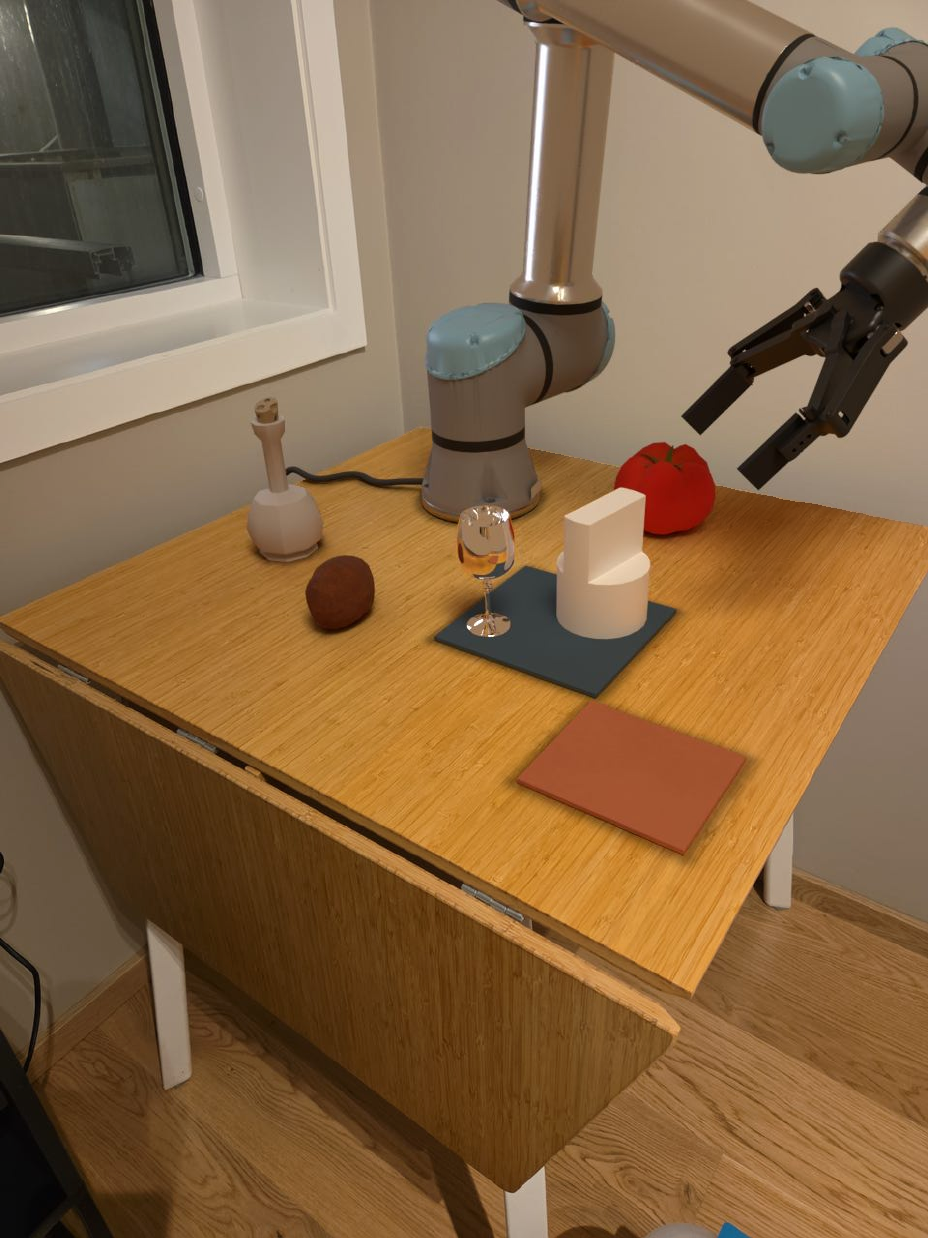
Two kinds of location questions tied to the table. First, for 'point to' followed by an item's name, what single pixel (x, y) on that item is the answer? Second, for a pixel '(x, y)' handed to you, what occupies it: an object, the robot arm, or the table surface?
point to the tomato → (669, 486)
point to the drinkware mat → (550, 636)
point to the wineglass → (486, 559)
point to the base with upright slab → (604, 568)
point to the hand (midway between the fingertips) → (716, 451)
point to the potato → (340, 591)
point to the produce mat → (634, 775)
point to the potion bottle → (280, 498)
